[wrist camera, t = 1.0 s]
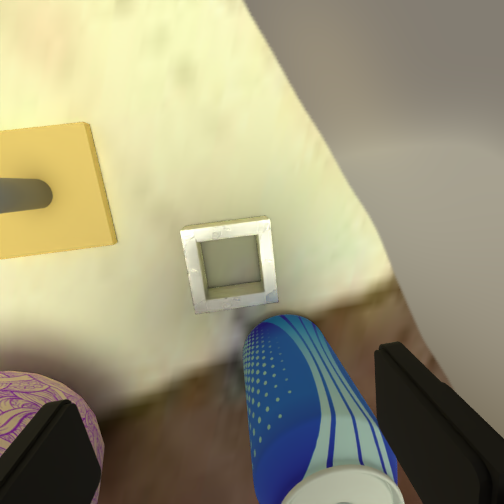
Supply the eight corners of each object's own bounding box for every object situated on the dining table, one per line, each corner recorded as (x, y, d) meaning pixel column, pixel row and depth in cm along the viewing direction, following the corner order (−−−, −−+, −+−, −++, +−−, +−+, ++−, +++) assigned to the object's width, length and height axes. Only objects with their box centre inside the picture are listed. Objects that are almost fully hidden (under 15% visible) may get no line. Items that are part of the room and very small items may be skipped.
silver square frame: (273, 289, 28) (278, 301, 25) (198, 300, 28) (195, 314, 25) (265, 215, 26) (270, 219, 23) (185, 225, 26) (180, 231, 23)
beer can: (256, 299, 28) (291, 439, 13) (332, 319, 29) (451, 470, 14) (231, 371, 30) (236, 573, 14) (305, 387, 31) (383, 590, 16)
